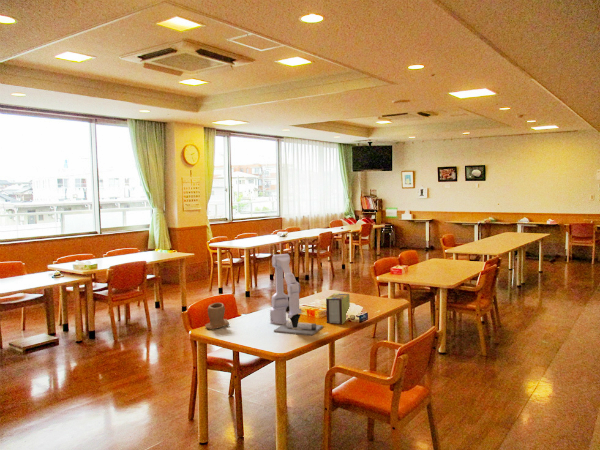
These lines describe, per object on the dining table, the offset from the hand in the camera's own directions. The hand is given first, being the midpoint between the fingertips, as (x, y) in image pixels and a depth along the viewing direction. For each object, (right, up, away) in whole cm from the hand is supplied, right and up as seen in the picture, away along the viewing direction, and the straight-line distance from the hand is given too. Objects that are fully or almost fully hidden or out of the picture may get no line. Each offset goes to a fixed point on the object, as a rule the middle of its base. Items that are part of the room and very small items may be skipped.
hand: (295, 327), depth 290 cm
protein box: (+27, -1, +25) cm, 37 cm away
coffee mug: (-5, 0, +55) cm, 55 cm away
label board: (+2, -3, +8) cm, 8 cm away
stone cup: (-47, -4, +18) cm, 50 cm away
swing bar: (+4, -2, +6) cm, 7 cm away
